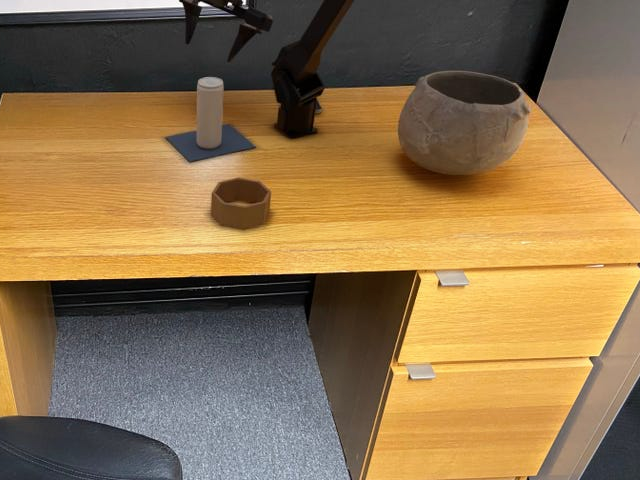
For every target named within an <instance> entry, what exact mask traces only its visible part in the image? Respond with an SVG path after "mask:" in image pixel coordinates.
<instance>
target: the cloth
mask: <svg viewBox="0 0 640 480" xmlns="http://www.w3.org/2000/svg"><path fill="white" fill-rule="evenodd" d="M165 139H166V141H167V142H168V143H169V144H170V145H171V146H173V147H174V149H175V150H176V151H177V152H179V153H180V155H181V156H182V157H184V159H185V160H187V162H188V163H193V162H199V161H203V160H207V159H213V158H216V157H221V156H226V155H231V154H234V153H239V152H243V151H249V150H252V149H256V148H257V146H256V145H255V144H254V143H252V141H250V140H249V139H248V138H246V137H245V136H244V135H243V134H242V133H240V132H239V130H237V129H236V128H235V127H234V126H232V125H231V124H230V123H226V124H222V139H221V144H220V145H219V146H218V147H217V148H215V149H203V148H201V147H199V145H198V144H197V130H192V131H188V132H187V131H186V132H183V133H177V134H173V135H169V136H165Z"/></svg>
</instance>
